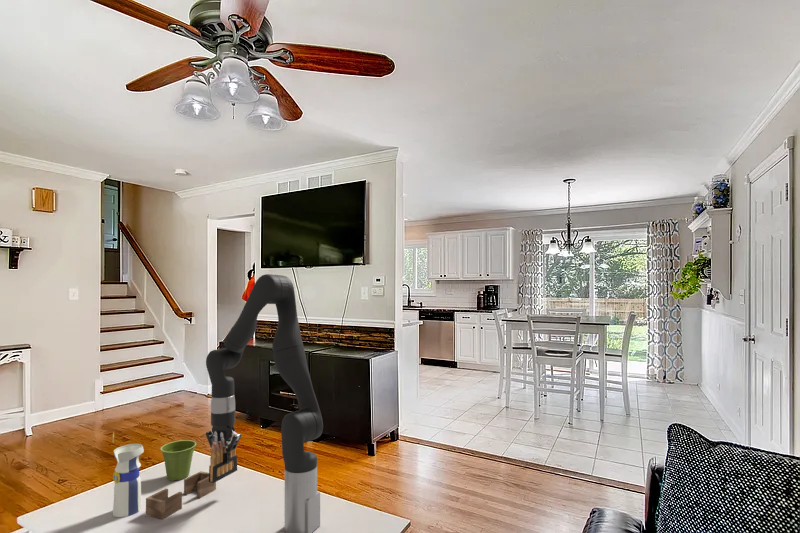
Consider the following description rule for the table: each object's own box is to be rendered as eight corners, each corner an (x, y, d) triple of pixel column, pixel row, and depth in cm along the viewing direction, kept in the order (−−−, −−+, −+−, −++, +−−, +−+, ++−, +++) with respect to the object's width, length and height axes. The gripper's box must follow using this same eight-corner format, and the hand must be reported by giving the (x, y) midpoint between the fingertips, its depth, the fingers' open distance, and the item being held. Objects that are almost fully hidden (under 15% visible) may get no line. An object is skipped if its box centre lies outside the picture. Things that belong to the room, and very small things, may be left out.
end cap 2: (183, 494, 148) (184, 479, 148) (200, 485, 154) (200, 471, 155) (199, 498, 145) (199, 482, 145) (216, 489, 152) (216, 474, 152)
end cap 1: (181, 508, 139) (181, 492, 139) (162, 519, 132) (162, 502, 133) (165, 504, 141) (165, 488, 142) (145, 514, 135) (145, 498, 135)
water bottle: (120, 521, 132) (121, 435, 133) (106, 513, 136) (107, 431, 137) (148, 509, 139) (149, 428, 140) (133, 502, 143) (135, 423, 144)
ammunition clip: (213, 483, 139) (213, 444, 140) (208, 482, 140) (208, 443, 141) (237, 470, 149) (237, 434, 150) (233, 469, 150) (233, 433, 151)
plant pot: (152, 484, 156) (153, 451, 157) (171, 470, 168) (171, 439, 168) (185, 484, 156) (186, 451, 156) (202, 470, 168) (202, 440, 168)
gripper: (247, 408, 147) (248, 461, 146) (215, 405, 152) (215, 456, 151) (231, 414, 140) (231, 470, 139) (198, 410, 145) (198, 464, 144)
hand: (223, 463), depth 145 cm, fingers closed on ammunition clip, 2 cm apart
